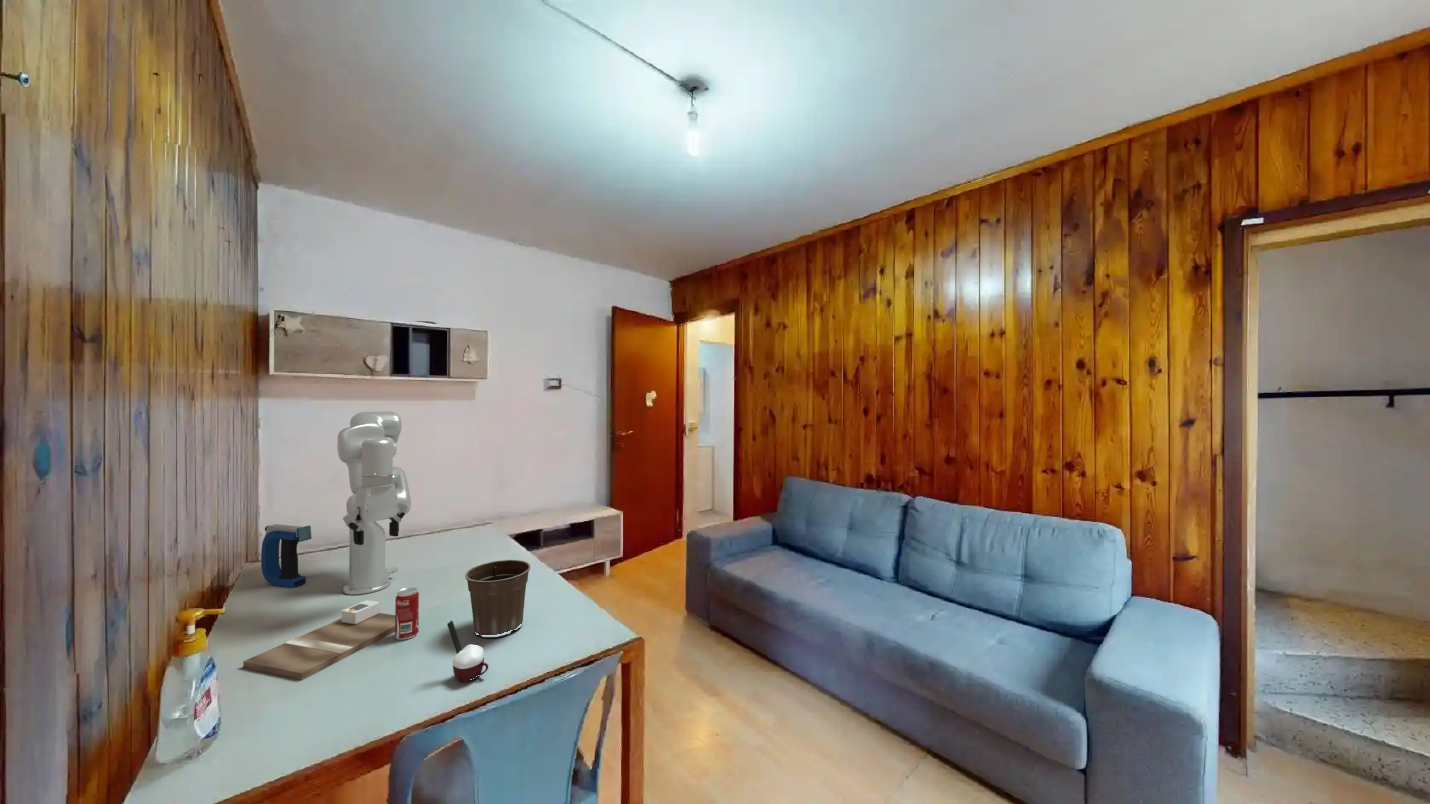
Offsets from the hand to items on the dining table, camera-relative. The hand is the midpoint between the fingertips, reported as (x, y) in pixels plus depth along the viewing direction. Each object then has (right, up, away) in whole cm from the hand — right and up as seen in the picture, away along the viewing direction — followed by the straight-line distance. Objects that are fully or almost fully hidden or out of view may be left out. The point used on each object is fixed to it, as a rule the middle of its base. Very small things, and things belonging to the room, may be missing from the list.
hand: (376, 540), depth 139 cm
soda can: (+17, -22, -13) cm, 31 cm away
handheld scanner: (-44, -21, +20) cm, 53 cm away
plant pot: (+39, -22, -9) cm, 46 cm away
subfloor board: (+2, -21, -18) cm, 28 cm away
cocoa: (+43, -22, -31) cm, 57 cm away
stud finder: (0, -19, -7) cm, 21 cm away
